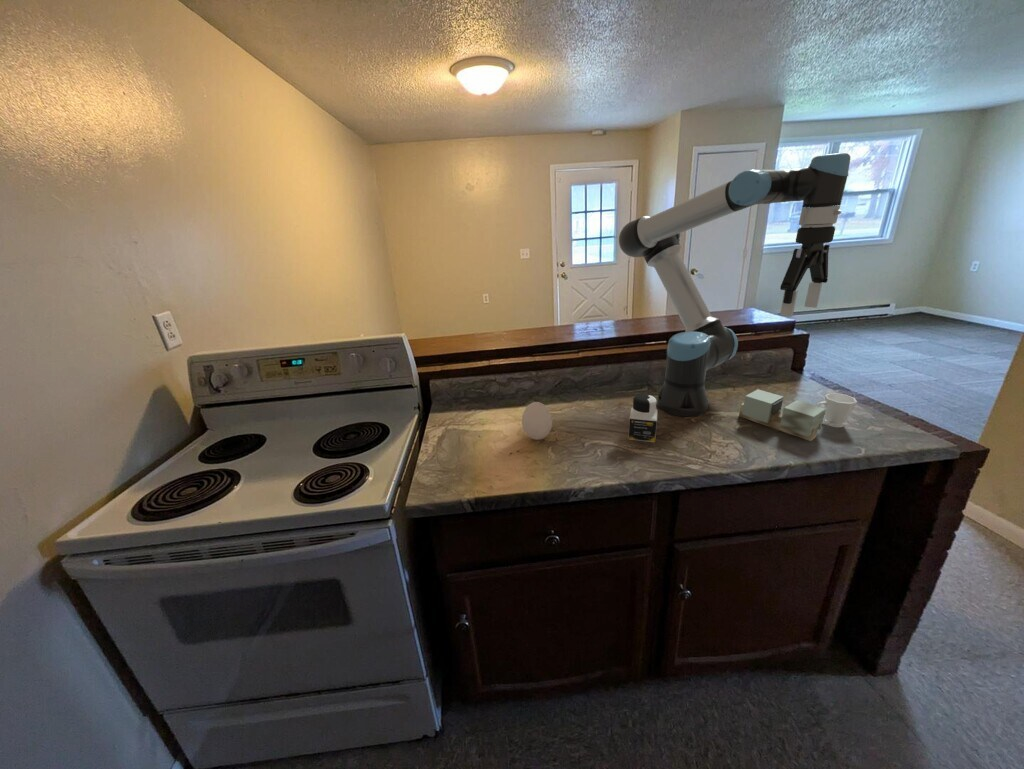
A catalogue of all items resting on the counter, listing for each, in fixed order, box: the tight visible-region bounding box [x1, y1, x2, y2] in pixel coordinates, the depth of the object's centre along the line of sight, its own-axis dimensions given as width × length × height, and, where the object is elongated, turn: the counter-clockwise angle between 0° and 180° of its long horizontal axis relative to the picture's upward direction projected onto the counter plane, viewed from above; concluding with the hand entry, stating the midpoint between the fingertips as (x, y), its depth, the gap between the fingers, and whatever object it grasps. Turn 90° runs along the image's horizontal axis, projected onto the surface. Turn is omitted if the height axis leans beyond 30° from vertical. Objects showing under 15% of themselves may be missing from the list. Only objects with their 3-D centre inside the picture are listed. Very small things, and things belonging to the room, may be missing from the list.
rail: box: [738, 399, 826, 442], centre depth 112 cm, size 19×7×8 cm, turn 34°
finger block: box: [742, 388, 784, 423], centre depth 114 cm, size 7×7×6 cm
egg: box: [521, 401, 553, 441], centre depth 113 cm, size 9×9×11 cm
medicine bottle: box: [628, 393, 658, 443], centre depth 111 cm, size 7×7×12 cm
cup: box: [815, 392, 858, 428], centre depth 111 cm, size 7×10×8 cm
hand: (798, 311), depth 106 cm, fingers open, 13 cm apart
